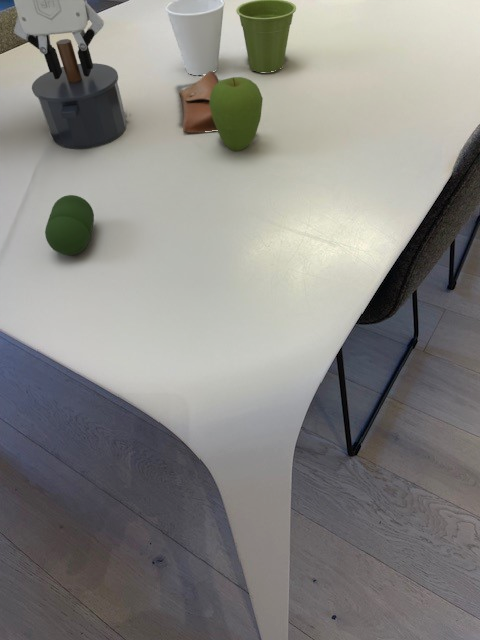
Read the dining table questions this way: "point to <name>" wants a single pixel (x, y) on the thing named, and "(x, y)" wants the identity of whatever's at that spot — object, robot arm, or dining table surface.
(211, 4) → the cup
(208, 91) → the sunglasses case
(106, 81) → the lid
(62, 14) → the robot arm
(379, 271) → the dining table surface
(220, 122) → the apple
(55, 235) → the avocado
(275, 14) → the plant pot
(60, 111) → the pot
